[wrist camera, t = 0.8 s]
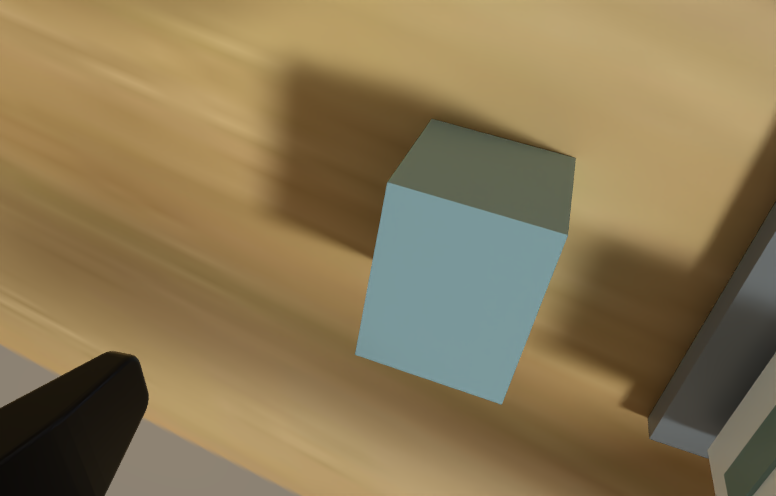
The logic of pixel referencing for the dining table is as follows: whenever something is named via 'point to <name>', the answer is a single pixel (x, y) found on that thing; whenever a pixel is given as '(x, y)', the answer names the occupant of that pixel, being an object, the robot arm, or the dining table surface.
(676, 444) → the din board
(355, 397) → the dining table surface
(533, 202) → the block
